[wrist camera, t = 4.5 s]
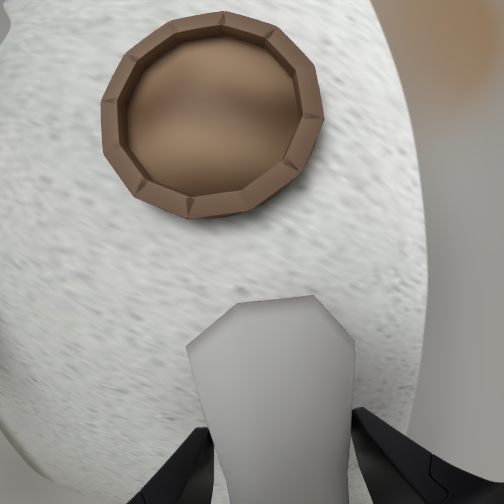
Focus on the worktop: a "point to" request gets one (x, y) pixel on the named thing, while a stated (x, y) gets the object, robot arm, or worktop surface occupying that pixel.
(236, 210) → the walnut collar
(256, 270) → the worktop surface
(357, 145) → the worktop surface
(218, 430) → the flask
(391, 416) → the worktop surface
